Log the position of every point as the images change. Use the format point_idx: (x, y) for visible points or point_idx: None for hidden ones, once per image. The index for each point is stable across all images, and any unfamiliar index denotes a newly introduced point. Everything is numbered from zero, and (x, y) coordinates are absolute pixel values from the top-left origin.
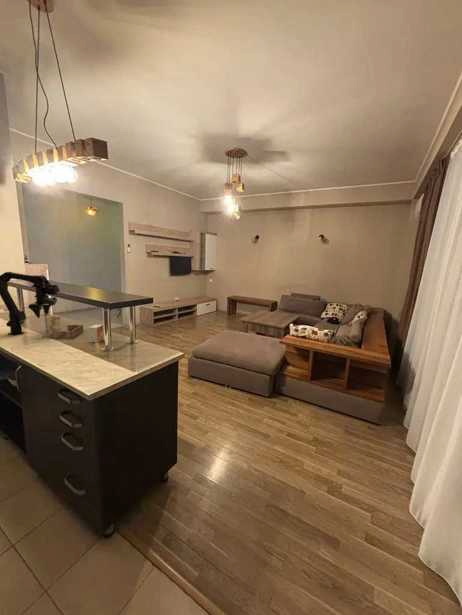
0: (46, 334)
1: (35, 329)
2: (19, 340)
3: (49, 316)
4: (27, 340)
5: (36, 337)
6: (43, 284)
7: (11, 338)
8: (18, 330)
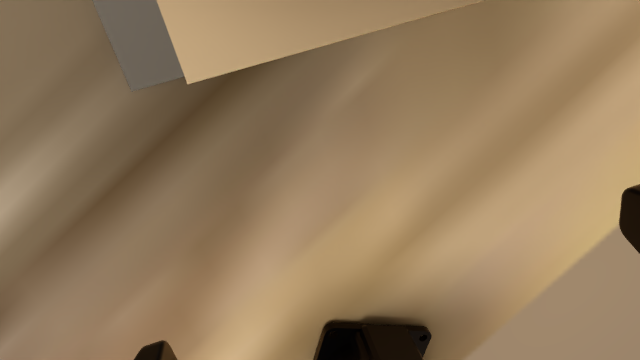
0: None
1: None
2: (581, 143)
3: (446, 1)
4: (579, 61)
5: (453, 60)
6: None
7: (520, 265)
8: (414, 356)
